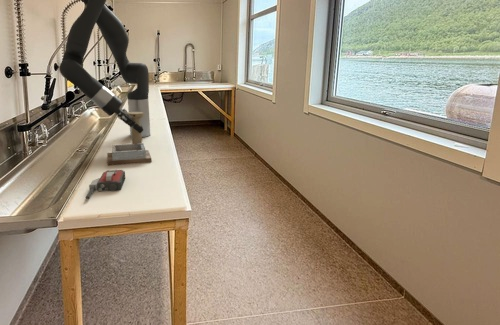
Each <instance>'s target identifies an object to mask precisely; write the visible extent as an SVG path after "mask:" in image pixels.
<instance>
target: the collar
mask: <svg viewBox="0 0 500 325" xmlns="http://www.w3.org/2000/svg"><path fill="white" fill-rule="evenodd" d="M146 150H147V149H146V147H145V145H144V143H143V142H142V143H137V144H132V143H125V144H124V143H123V144H112V145H111V153H112V158H113V161H117V160H131V159H144V158H146Z"/></svg>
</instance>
